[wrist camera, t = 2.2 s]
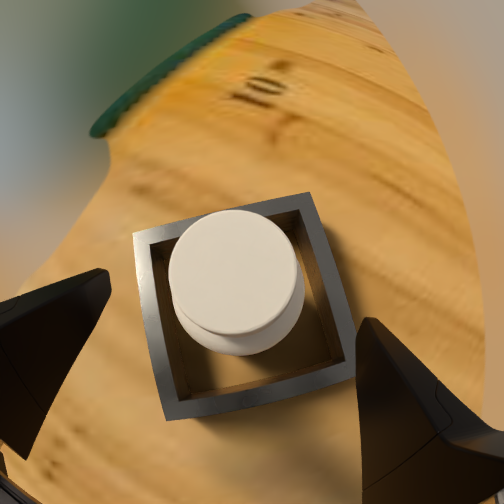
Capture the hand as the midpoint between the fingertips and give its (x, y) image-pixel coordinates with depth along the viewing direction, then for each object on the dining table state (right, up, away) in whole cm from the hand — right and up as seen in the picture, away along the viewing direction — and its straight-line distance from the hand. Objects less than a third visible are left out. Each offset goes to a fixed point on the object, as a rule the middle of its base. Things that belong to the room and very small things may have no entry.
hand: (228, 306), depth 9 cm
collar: (0, -2, +9) cm, 9 cm away
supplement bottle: (0, -2, +9) cm, 9 cm away
